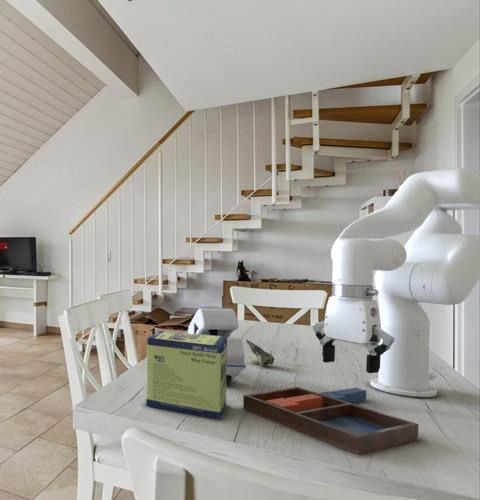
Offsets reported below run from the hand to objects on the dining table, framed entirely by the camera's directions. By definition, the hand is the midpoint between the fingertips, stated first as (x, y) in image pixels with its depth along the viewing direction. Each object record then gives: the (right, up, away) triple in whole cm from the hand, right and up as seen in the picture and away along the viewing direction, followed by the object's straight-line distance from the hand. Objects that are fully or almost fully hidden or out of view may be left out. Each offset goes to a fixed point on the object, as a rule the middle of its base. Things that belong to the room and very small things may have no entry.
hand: (349, 367), depth 110 cm
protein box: (-38, -8, -3) cm, 39 cm away
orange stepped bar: (-17, -7, -8) cm, 20 cm away
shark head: (-3, -7, +32) cm, 33 cm away
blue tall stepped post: (-2, -8, -1) cm, 8 cm away
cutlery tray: (-15, -8, -13) cm, 21 cm away
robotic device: (-23, -8, +18) cm, 30 cm away
